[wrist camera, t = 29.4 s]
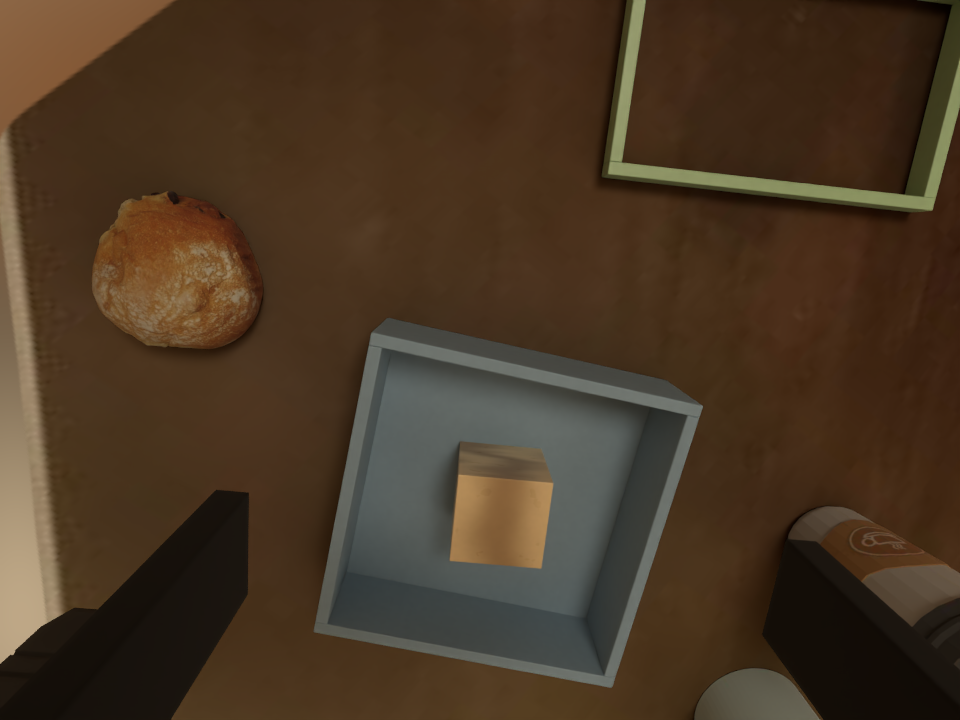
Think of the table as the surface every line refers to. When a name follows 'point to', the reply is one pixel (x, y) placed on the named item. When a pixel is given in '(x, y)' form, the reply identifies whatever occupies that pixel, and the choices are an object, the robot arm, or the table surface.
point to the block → (500, 505)
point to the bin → (431, 488)
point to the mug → (753, 698)
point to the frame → (951, 89)
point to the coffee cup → (892, 572)
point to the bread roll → (176, 273)
